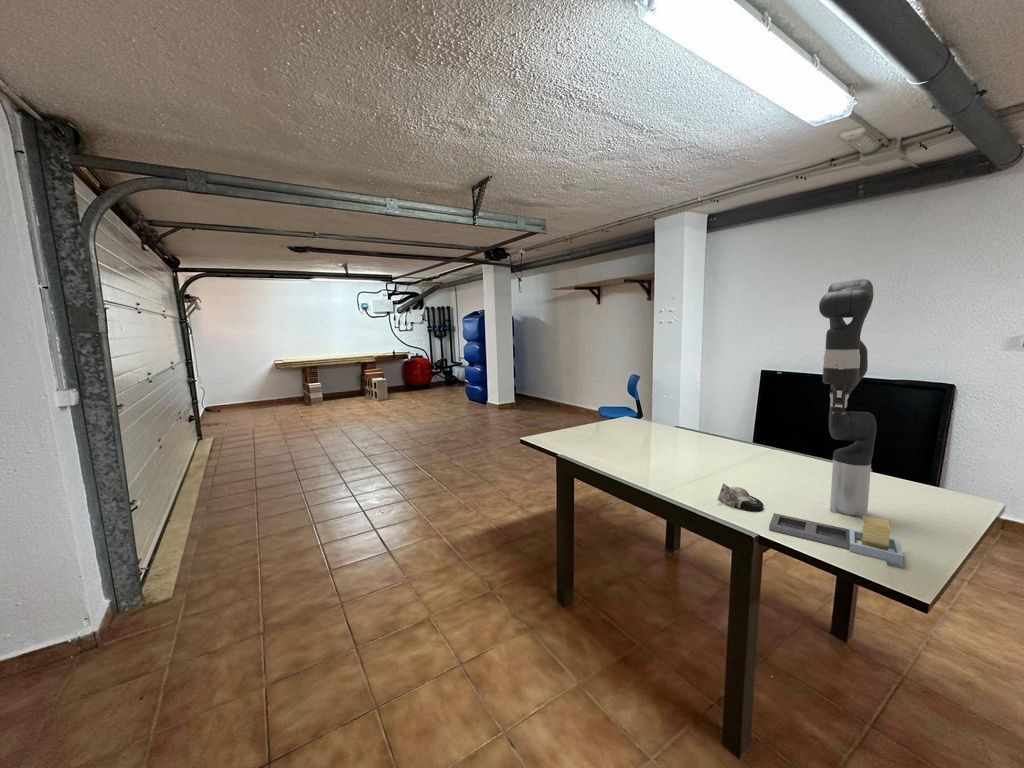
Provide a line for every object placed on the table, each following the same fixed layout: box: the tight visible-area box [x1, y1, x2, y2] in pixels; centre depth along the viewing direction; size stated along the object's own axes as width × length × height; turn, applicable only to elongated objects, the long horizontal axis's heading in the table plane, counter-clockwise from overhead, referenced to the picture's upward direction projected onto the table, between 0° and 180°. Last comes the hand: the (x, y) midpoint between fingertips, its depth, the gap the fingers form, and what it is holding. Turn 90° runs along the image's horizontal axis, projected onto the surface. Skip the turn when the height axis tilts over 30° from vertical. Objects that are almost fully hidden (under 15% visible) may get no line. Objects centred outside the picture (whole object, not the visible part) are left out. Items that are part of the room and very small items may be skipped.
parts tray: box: [848, 528, 904, 568], centre depth 104 cm, size 10×10×3 cm
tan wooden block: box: [860, 515, 891, 551], centre depth 104 cm, size 5×5×8 cm
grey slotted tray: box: [768, 512, 850, 550], centre depth 114 cm, size 10×18×2 cm, turn 50°
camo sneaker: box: [717, 483, 765, 512], centre depth 133 cm, size 7×11×10 cm
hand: (837, 425), depth 108 cm, fingers open, 8 cm apart
